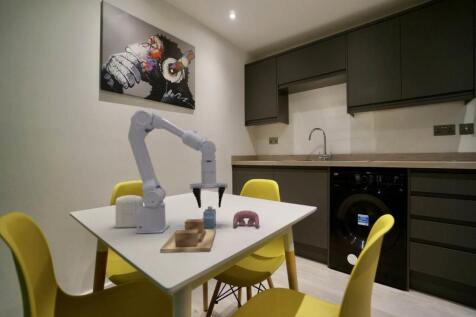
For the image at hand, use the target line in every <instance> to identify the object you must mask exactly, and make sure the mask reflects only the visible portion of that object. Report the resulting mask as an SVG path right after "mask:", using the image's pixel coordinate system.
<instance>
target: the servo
mask: <svg viewBox="0 0 476 317" xmlns="http://www.w3.org/2000/svg"><path fill="white" fill-rule="evenodd" d="M216 214H217V211H216V208H213V206H207V208H205V209H204V211H203V214H202V219H204V229H216V225H217V215H216Z"/></svg>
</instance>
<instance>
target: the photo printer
mask: <svg viewBox="0 0 476 317" xmlns="http://www.w3.org/2000/svg"><path fill="white" fill-rule="evenodd" d="M142 206H144V202H143V196H141V195H135V194H130V195H122V196H119V197H117V198H116V200H115V228H137V211H138V209H139V208H140V207H142Z"/></svg>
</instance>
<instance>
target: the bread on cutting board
mask: <svg viewBox="0 0 476 317" xmlns="http://www.w3.org/2000/svg"><path fill="white" fill-rule="evenodd" d="M216 233H217V229H216V228H214V229H204V219H203V218H195V219H193V218H192V219H191V218H187V219H186V220H184V229H177V230H175V231H174V232H173V234H172V235H170V237H169V238H168V239H167V241H166V242H165V243H164V244H163V245H162V246H161V248H160V249H159V252H160V253H163V254H164V253H165V254H166V253H193V252H194V253H202V252H204V253H205V252H208V253H209V252H211V250H212V247H213V243H214V239H215V238H216Z"/></svg>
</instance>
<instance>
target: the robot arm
mask: <svg viewBox="0 0 476 317" xmlns="http://www.w3.org/2000/svg"><path fill="white" fill-rule="evenodd" d="M155 129H156V130H162V129H163V130H165V131H167V132H169V133H171V134H173V135H175V136H177V137H178V138H181V141H182V144H184V145H185V146H188V147H190V148H191V149H193V150H195V151H196V152H199V151H200V153H201V160H200V167H201V168H200V169H201V170H200V172H201V182H200V183H190V184H189V190H192V191H191V192H192V194H193V195H194V197H195V200H196V203H197V207H198V209H201V208H202V200H201V199H202V194H201V193H202V189H203V190H204V189H217V192H218V203H217V204H218V208H221V207H222V205H221V204H222V199H223V197H224V193H225V190H226V189H228V188H229V182H217V161H216V151H217V146H216V144H215V143H214V142H212V140H211V141H210V140H208V138H207V137H203V136H201V135H200V134H198V133H197V131H196V130H191V129H190V130H184V129H182V128H181V127H179V126H177V125H175V124H174V123H172V122H171V121H169V120H168V119H166V118H164V117H163V116H160V115H158V114H156V113H154V112H150V111H148V110H147V109H143V108H141V109H138V110H137V111H135V112H134V113H133V115H132V116H131V117H130V126H129V129H128V134H127V139H128V142H129V145H130V148H131V151H132V154H133V156H134V160H135V164H136V166H137V170H138V173H139V175H140V179H141V182H142V187H141V190H142V193H143V194H142V198H143V206H142V207H140V208H139V209H138V211H137V227H136V232H135V233H136V234H158V233H159V234H160V233H161V234H162V233H163V232H165V231H166V230H167V229H168V228H169V227H170V224H166V203H165V202H164V200H165V198H166V191H165V189H164V188H163V187H162V186H161V184H160V181H159V180H158V178H157V175H156V172H155V169H154V165H153V163H152V159H151V157H150V154H149V151H148V148H147V144H146V141H145V139H146V137H147V136H148V135H149V133H151V132H152V131H154V130H155Z"/></svg>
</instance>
